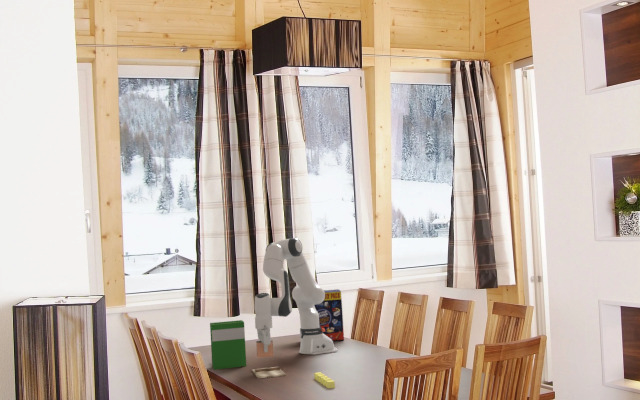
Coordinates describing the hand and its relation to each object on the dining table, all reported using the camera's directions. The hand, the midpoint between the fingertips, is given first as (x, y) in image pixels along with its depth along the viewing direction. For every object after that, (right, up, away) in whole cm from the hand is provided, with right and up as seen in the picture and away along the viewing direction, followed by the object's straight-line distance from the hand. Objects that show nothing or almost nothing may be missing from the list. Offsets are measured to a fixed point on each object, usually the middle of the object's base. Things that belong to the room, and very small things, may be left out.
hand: (265, 351), depth 394 cm
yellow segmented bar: (+32, -9, -34) cm, 48 cm away
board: (+2, -10, -6) cm, 12 cm away
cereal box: (+30, -10, +83) cm, 89 cm away
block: (0, -3, 0) cm, 3 cm away
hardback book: (-21, -12, +17) cm, 30 cm away
